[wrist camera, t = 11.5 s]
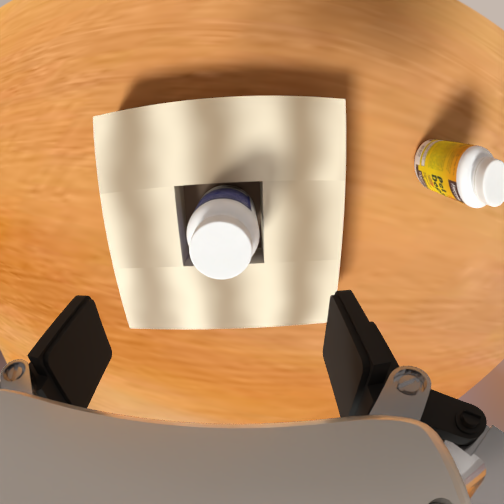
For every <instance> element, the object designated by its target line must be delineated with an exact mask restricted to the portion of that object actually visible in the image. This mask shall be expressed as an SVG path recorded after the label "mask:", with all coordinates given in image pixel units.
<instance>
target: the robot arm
mask: <svg viewBox="0 0 504 504" xmlns="http://www.w3.org/2000/svg"><path fill="white" fill-rule="evenodd" d="M27 356H28V358H29V359H30V361H31V362H30V363H29V364H28V363H27V362H26V361H25V360H22V359H17V360H13V361H11V362H9V363H8V364H7V365H6V366H5V367H4V368H3V369H2V372H1V375H0V504H504V432H502V431H501V430H499V429H498V428H496V427H495V426H494V425H492V426H491V427H488V426H487V425H486V417H485V415H484V413H483V412H482V411H481V410H480V409H479V408H478V407H476V406H474V405H472V404H469V403H466V402H463V401H460V400H458V399H455V398H452V397H450V396H447V395H444V394H442V393H439V392H437V391H434V390H432V389H431V381H430V378H429V376H428V375H427V374H426V373H425V372H424V371H423V370H421V369H419V368H417V367H413V366H401V367H399V365H398V363H397V361H396V360H395V358H394V356H393V354H392V352H391V351H390V349H389V347H388V345H387V343H386V342H385V340H384V338H383V336H382V335H381V333H380V331H379V330H378V328H377V326H376V325H375V323H374V322H369V320H368V318H367V317H366V315H365V313H364V311H363V310H362V308H361V306H360V305H359V303H358V301H357V299H356V298H355V296H354V294H353V293H352V291H351V290H344V291H336V292H335V295H331V296H330V301H329V309H328V317H327V325H326V332H325V339H324V346H323V357H324V361H325V364H326V368H327V371H328V374H329V378H330V381H331V385H332V388H333V392H334V395H335V399H336V402H337V406H338V409H339V413H340V417H341V418H329V419H320V420H310V421H298V422H282V423H261V424H211V423H190V422H176V421H165V420H155V419H147V418H139V417H132V416H125V415H119V414H113V413H108V412H102V411H97V410H92V409H87V407H88V405H89V403H90V401H91V398H92V396H93V394H94V392H95V390H96V388H97V386H98V384H99V382H100V379H101V377H102V375H103V373H104V371H105V369H106V367H107V365H108V363H109V361H110V359H111V357H112V350H111V347H110V344H109V342H108V339H107V337H106V334H105V331H104V328H103V326H102V323H101V320H100V317H99V314H98V311H97V308H96V305H95V302H94V300H92V299H91V298H90V297H89V296H79V295H78V296H75V297H74V299H73V300H72V301H71V302H70V303H69V304H68V306H67V307H66V308H65V309H64V310H63V311H62V313H61V314H60V315H59V316H58V317H57V319H56V320H55V321H54V322H53V323H52V325H51V326H50V327H49V328H48V330H47V331H46V332H45V333H44V335H43V336H42V337H41V338H40V340H39V341H38V342H37V343H36V345H35V346H34V347H33V349H32V350H31V351H30V353H29V354H28V355H27Z"/></svg>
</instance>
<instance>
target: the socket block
mask: <svg viewBox="0 0 504 504" xmlns="http://www.w3.org/2000/svg"><path fill="white" fill-rule="evenodd" d="M93 129H94V144H95V156H96V166H97V175H98V183H99V191H100V198H101V205H102V211H103V217H104V223H105V229H106V234H107V239H108V244H109V249H110V254H111V258H112V263H113V267H114V272H115V276H116V280H117V284H118V288H119V292H120V295H121V299H122V303H123V306H124V310H125V313H126V317H127V320H128V324H129V327H130V328H137V329H230V328H256V327H274V326H290V325H303V324H315V323H326V322H327V317H328V309H329V301H330V296H331V295H335V292H336V291H337V288H338V279H339V269H340V259H341V248H342V235H343V221H344V204H345V180H346V100H345V99H338V98H325V97H308V96H235V97H218V98H205V99H194V100H185V101H177V102H169V103H162V104H155V105H149V106H143V107H137V108H132V109H126V110H121V111H116V112H112V113H107V114H103V115H99V116H94V117H93ZM221 185H232V186H236V187H238V188H240V189H242V190H244V191H245V192H246V193H247V194H248V195H249V196H250V197H251V199H252V201H253V203H254V206H255V209H256V216H257V221H258V225H259V233H260V237H259V244H258V247H257V249H256V251H255V253H254V254H253V256H252V258H251V261H250V263H249V265H248V266H247V268H246V269H245V270H244V271H243V272H242V273H240V274H239V275H237V276H235V277H233V278H229V279H214V278H210V277H207V276H206V275H204V274H202V273H201V272H200V271H199V270H198V269H197V268H196V267H195V266H194V264H193V263H192V260H191V258H190V254H189V245H188V242H187V226H188V222H189V220H190V218H191V216H192V214H193V212H194V210H195V209H196V207H197V205H198V203H199V201H200V200H201V198H202V197H203V196H204V194H205V193H207V192H208V191H209V190H211V189H212V188H214V187H217V186H221Z"/></svg>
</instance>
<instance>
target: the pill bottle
mask: <svg viewBox="0 0 504 504" xmlns="http://www.w3.org/2000/svg"><path fill="white" fill-rule="evenodd" d="M259 237H260V233H259V225H258V221H257V216H256V209H255V206H254V203H253V201H252V199H251V197H250V196H249V195H248V194H247V193H246V192H245V191H244V190H242V189H240V188H238V187H236V186H232V185H221V186H217V187H214V188H212V189H211V190H209V191H208V192H207V193H205V194H204V196H203V197H202V198H201V200H200V201H199V203H198V205H197V207H196V209H195V210H194V212H193V214H192V216H191V218H190V220H189V222H188V226H187V242H188V245H189V254H190V258H191V260H192V263H193V264H194V266H195V267H196V268H197V269H198V270H199V271H200V272H201V273H202V274H204V275H206V276H207V277H210V278H214V279H229V278H233V277H235V276H237V275H239V274H240V273H242V272H243V271H244V270H245V269H246V268H247V266H248V265H249V263H250V261H251V258H252V256H253V254H254V253H255V251H256V249H257V247H258V244H259Z"/></svg>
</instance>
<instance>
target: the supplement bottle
mask: <svg viewBox="0 0 504 504" xmlns="http://www.w3.org/2000/svg"><path fill="white" fill-rule="evenodd" d="M414 168H415V173H416V176H417V178H418V180H419V181H420V183H421V184H422V185H423V186H425V187H426V188H428V189H430V190H432V191H435V192H437V193H440V194H442V195H445V196H447V197H449V198H452V199H454V200H456V201H459V202H461V203H463V204H465V205H468V206H470V207H473V208H481V207H483V206H485V205H490V206H493V207H497V206H499V205H501V204H502V203H503V202H504V163H503V162H502V161H501V160H498V159H494V158H493V156H492V154H491V153H490V152H489V151H488V150H487V149H485V148H484V147H481V146H477V145H471V144H465V143H458V142H452V141H444V140H436V139H431V140H427V141H425V142H424V143H423V144H421V146H420V147H419V148H418V150H417V152H416V155H415V160H414Z"/></svg>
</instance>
